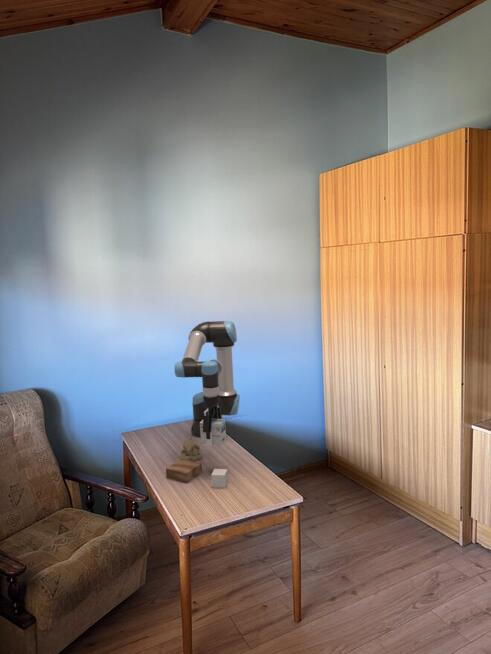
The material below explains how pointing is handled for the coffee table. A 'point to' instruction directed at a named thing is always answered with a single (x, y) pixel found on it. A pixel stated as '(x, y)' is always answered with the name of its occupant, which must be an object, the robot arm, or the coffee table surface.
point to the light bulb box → (215, 432)
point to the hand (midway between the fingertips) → (213, 441)
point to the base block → (184, 470)
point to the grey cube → (219, 478)
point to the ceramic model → (191, 450)
